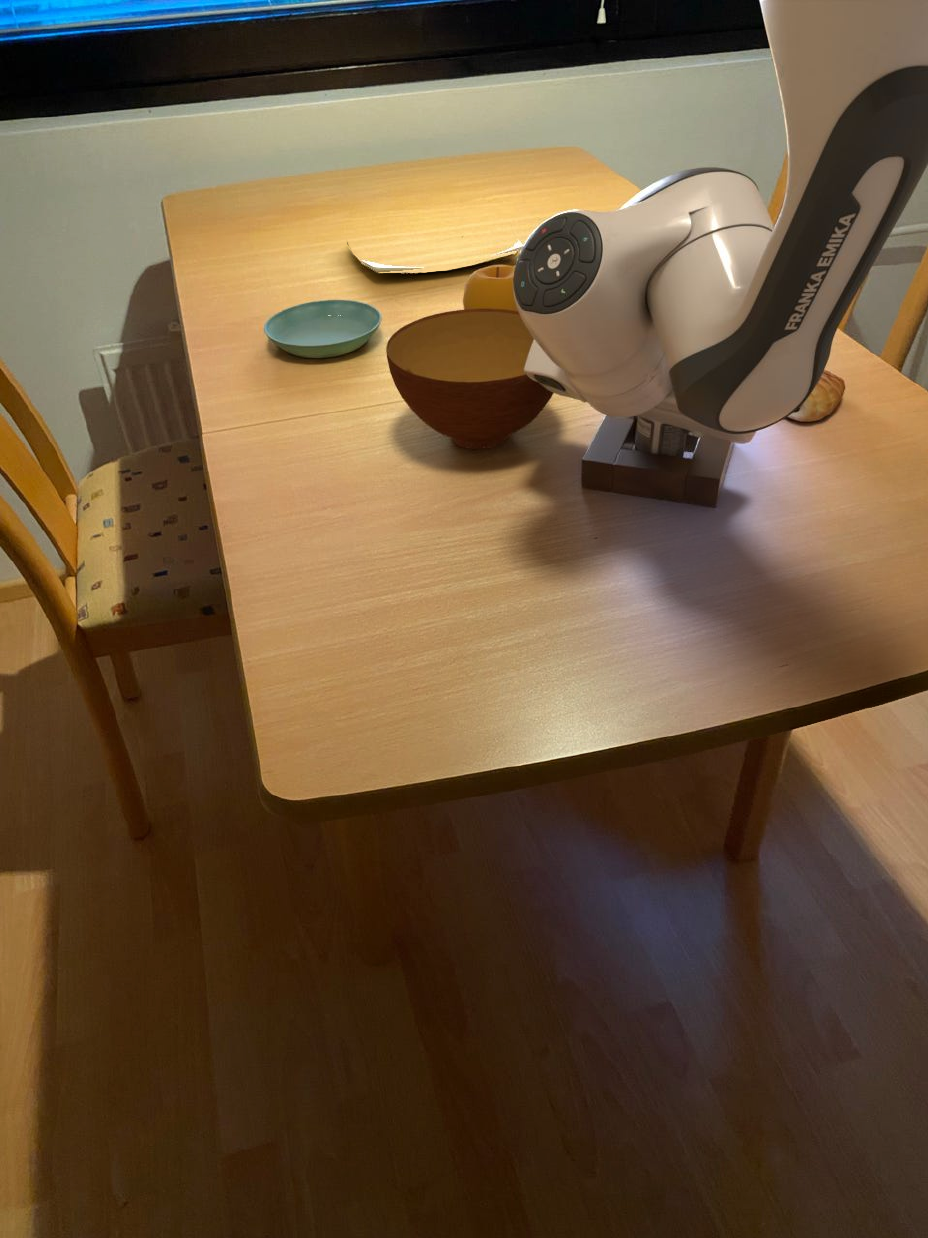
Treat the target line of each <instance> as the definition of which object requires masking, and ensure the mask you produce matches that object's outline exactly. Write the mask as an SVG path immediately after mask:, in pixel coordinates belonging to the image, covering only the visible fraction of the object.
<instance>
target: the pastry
mask: <svg viewBox="0 0 928 1238" xmlns="http://www.w3.org/2000/svg"><path fill="white" fill-rule="evenodd" d="M845 390H846V384H845V380H844V379H843V378H842V377H840V376H837V375H836V374H834V373H832V372H831V371H829V370H826V369H824V371H823V373H822V375H821V378H820V379H819V381H818V383H817V385H816V387H815V388H814V390H813V391H812V393H811V394H810V395H809V397H808V398H807V399H806V401H805V402H804V403H803V404H802V405H801V406H800V407H799V408H798V409H797V410H796V411H794V412H793V413H792V414H790V415H789V416H787V417H786V418H789V419H791V420H794V421H796V422H802V423H803V422H808V423H812V422H817V421H820V420H822V419H823V418H824V417H826V416H829V415H830V414H832V413H833V411H834V410H835V409H836V408H837V406H838V405H839V403H840V402H841V400H842V399H843V397H844V393H845Z"/></svg>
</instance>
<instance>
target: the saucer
mask: <svg viewBox="0 0 928 1238" xmlns="http://www.w3.org/2000/svg"><path fill="white" fill-rule="evenodd" d="M328 315H331V316H328ZM338 315H339V316H338ZM340 315H341V316H340ZM382 320H383V317H382V313H381V311H380V310H379V309H377V308H376V307H375V306H374V305H371V304H369V303H366V302H362V301H358V300H351V299H322V300H321V299H320V300H315V301H308V302H304V303H300V304H296V305H293V306H289V307H287V308H285V309H282V310H281V311H278V312H277V313H275V314H273V315H272V316H271V317H269V318H268V319H267V321H265V323H264V326H263V332H264V334H265V335H266V336H267V338H268V339H269V340H270V341H271V342H272V343H273V344H275V346H277V347H279V348H280V349H282V350H283V351H285V352H287V353H288V354H291V355H293V356H297V357H300V358H305V359H306V358H307V359H325V358H334V357H339V356H342V355H346V354H350V353H351V352H353V351H356V350H359V349H360V348H361V347H362V346H364V345H365V344H366V343H367V342H368V341H369V340H370V339H371V338H372V337H373V336H374V334H375V333H376V332H377V330H378V328H379V327H380V325H381V323H382Z"/></svg>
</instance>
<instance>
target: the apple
mask: <svg viewBox="0 0 928 1238" xmlns="http://www.w3.org/2000/svg"><path fill="white" fill-rule="evenodd" d="M514 270H515V266H513V265H509V264H492V265H488V266H485V267H482V268H479V269H477V270H475V271H473V272H472V273H471V274H470V275H469V277H468V279H467V281H466V282H465V285H464V291H463V295H462V296H463V297H462V306H463V310H465V309H503V310H513V311H518V309H517V307H516V303H515V299H514V292H513V276H514Z"/></svg>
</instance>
